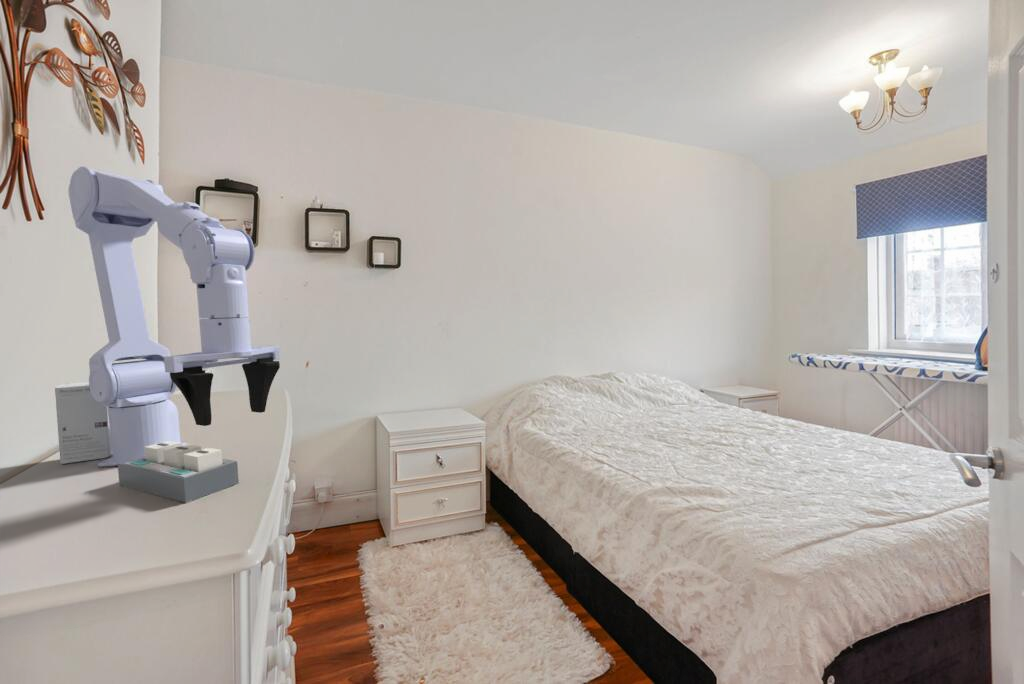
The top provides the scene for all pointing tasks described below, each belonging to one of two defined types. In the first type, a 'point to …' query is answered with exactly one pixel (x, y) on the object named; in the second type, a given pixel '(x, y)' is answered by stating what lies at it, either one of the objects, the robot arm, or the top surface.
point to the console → (176, 479)
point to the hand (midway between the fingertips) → (232, 417)
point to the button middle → (178, 454)
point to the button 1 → (158, 451)
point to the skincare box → (81, 424)
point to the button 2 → (202, 459)
